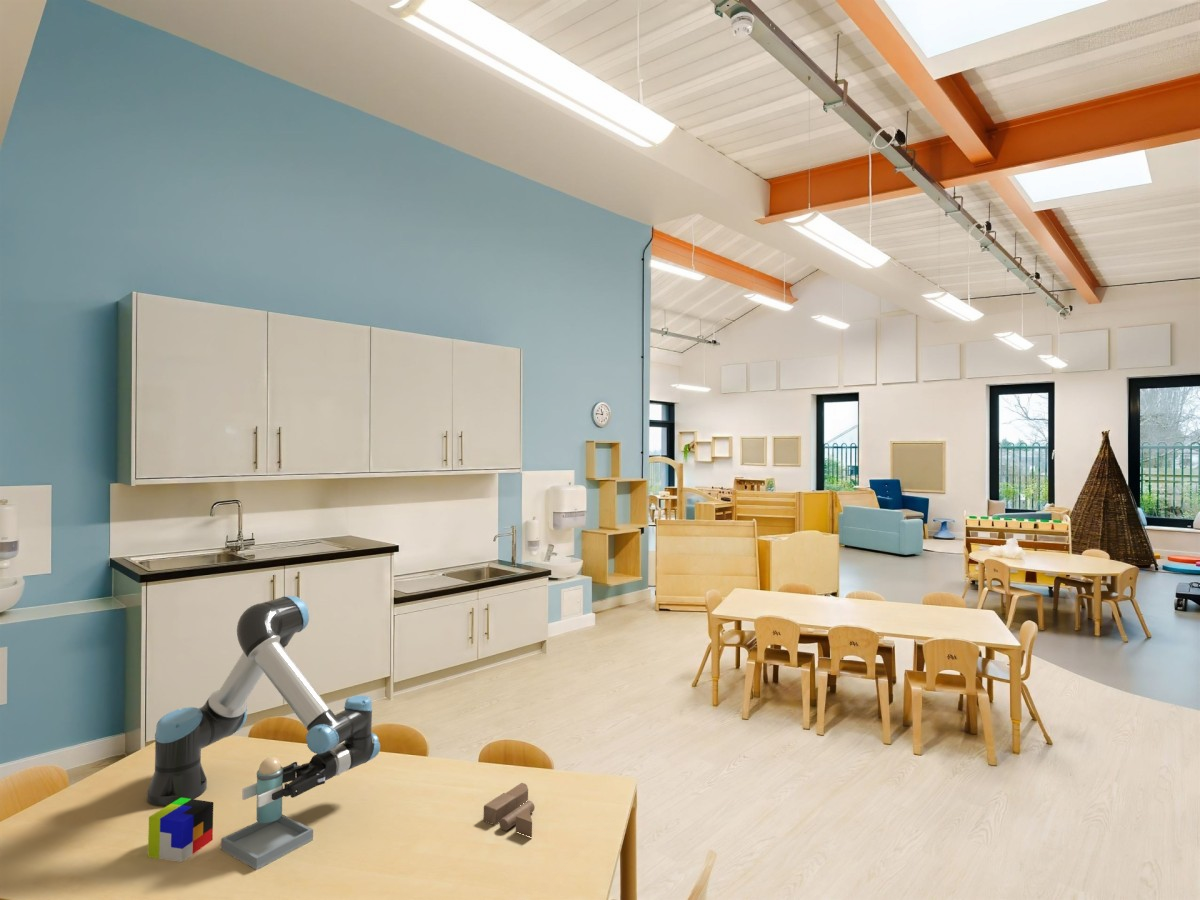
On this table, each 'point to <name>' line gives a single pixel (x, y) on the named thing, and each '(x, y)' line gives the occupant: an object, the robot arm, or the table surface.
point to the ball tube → (266, 781)
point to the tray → (266, 841)
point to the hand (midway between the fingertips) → (250, 797)
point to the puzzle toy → (180, 829)
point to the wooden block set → (511, 810)
